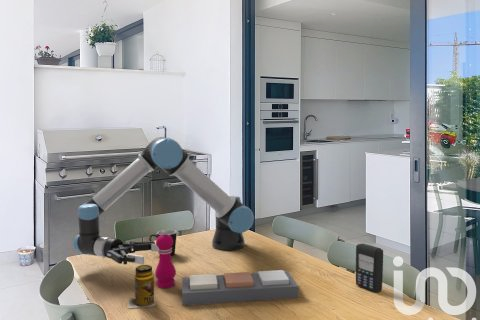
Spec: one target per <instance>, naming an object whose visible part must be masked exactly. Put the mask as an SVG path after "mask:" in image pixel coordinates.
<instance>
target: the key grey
mask: <svg viewBox="0 0 480 320" xmlns="http://www.w3.org/2000/svg"><path fill="white" fill-rule="evenodd" d="M257 273H258V278H259V281H260V283H261V285H262V286H266V285H282V284H289V279H288V277H287V275H286V274H285V272H284V269H278V270H277V269H276V270H261V271H260V270H259V271H257Z"/></svg>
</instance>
